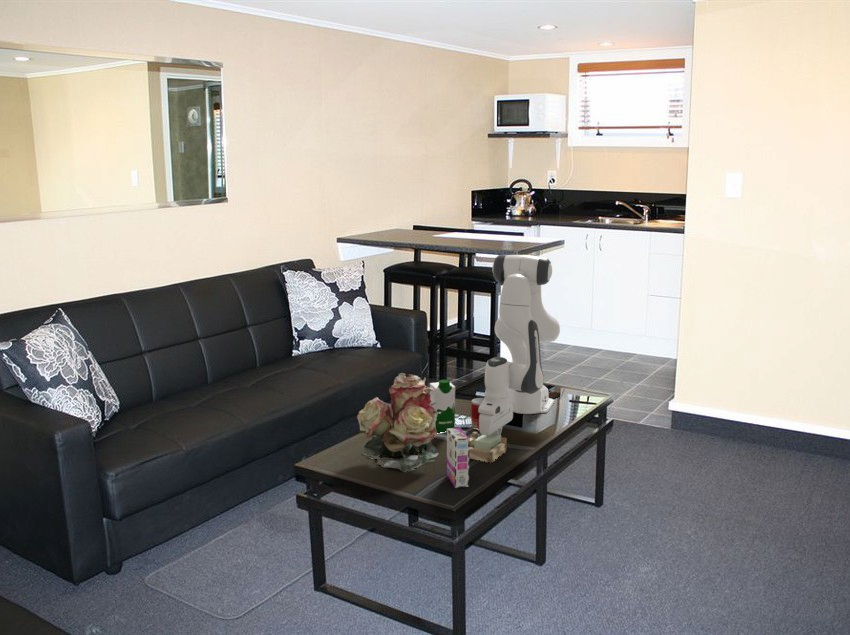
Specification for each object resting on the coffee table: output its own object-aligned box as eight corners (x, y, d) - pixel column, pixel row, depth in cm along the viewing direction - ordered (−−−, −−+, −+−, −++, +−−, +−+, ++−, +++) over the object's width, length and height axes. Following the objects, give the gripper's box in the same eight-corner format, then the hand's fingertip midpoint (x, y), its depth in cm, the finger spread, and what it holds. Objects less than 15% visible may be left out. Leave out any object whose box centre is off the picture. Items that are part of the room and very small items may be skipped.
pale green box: (484, 444, 295) (484, 428, 293) (502, 447, 291) (502, 432, 290) (472, 452, 287) (472, 436, 286) (491, 456, 283) (491, 440, 282)
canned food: (491, 432, 306) (491, 404, 304) (469, 431, 308) (469, 403, 305) (493, 425, 313) (493, 398, 311) (472, 424, 315) (472, 397, 312)
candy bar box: (470, 487, 258) (470, 438, 255) (455, 488, 257) (454, 440, 254) (460, 473, 269) (460, 426, 266) (446, 475, 268) (445, 427, 264)
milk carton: (435, 435, 304) (435, 384, 299) (428, 427, 312) (427, 377, 308) (457, 432, 306) (457, 381, 302) (449, 424, 315) (449, 375, 310)
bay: (474, 444, 294) (474, 431, 293) (506, 451, 287) (506, 438, 286) (457, 455, 284) (457, 442, 283) (491, 463, 277) (491, 449, 276)
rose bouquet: (348, 456, 284) (346, 374, 278) (415, 437, 302) (413, 359, 295) (392, 480, 265) (390, 391, 258) (460, 457, 282) (459, 374, 276)
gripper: (501, 393, 302) (501, 428, 305) (475, 409, 285) (475, 446, 288) (517, 396, 298) (516, 431, 301) (492, 412, 281) (491, 449, 284)
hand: (496, 439), depth 294 cm, fingers closed
